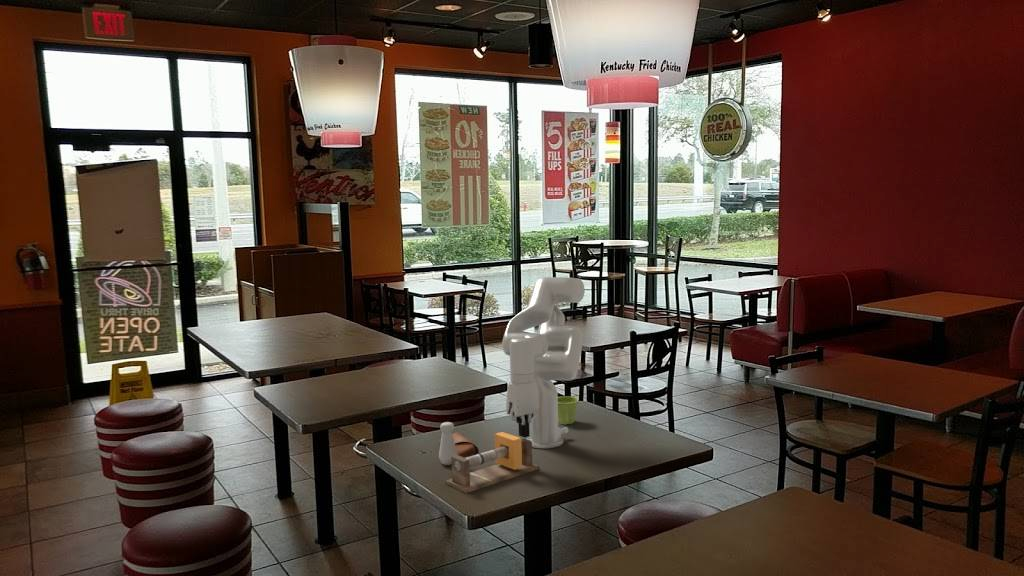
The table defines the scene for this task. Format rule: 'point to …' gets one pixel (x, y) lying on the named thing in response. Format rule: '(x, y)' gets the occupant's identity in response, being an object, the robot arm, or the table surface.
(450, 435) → the salt shaker
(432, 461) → the table surface
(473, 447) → the sunglasses case
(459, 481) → the pipe stand
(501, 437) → the collar
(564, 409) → the plant pot
